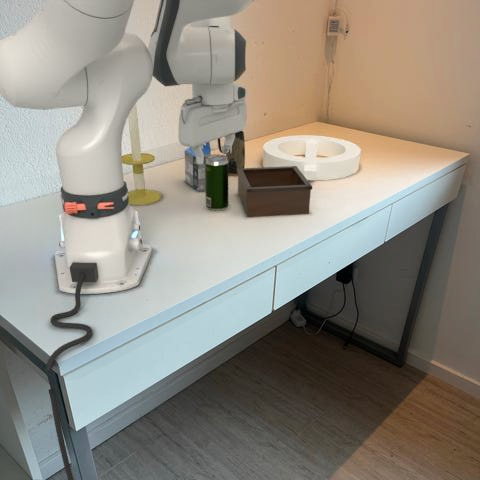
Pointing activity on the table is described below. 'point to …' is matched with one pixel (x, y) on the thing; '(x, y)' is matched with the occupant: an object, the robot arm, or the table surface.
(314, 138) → the white circle with bar
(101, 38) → the robot arm
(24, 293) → the table surface
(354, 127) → the table surface
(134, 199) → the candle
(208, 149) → the label tape box
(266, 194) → the brown open box
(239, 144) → the mug
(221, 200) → the beer can
